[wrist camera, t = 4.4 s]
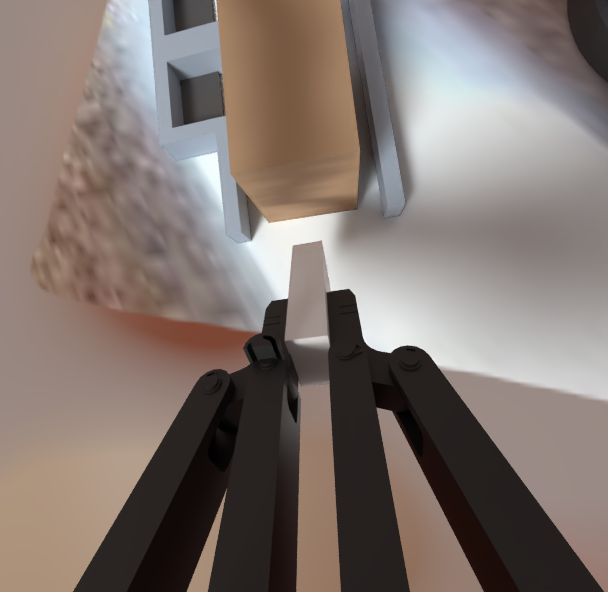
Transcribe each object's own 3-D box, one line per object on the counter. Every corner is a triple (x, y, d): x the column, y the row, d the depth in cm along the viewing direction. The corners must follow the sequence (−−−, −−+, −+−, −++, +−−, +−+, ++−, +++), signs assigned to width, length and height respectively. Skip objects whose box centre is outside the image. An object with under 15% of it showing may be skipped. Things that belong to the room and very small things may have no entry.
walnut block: (339, 73, 21) (334, -46, 15) (356, 209, 20) (360, 150, 13) (257, 91, 22) (215, -14, 15) (269, 223, 21) (230, 174, 14)
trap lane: (334, -169, 23) (332, -241, 20) (399, 215, 20) (408, 195, 17) (153, -106, 25) (127, -163, 22) (184, 252, 22) (157, 241, 19)
